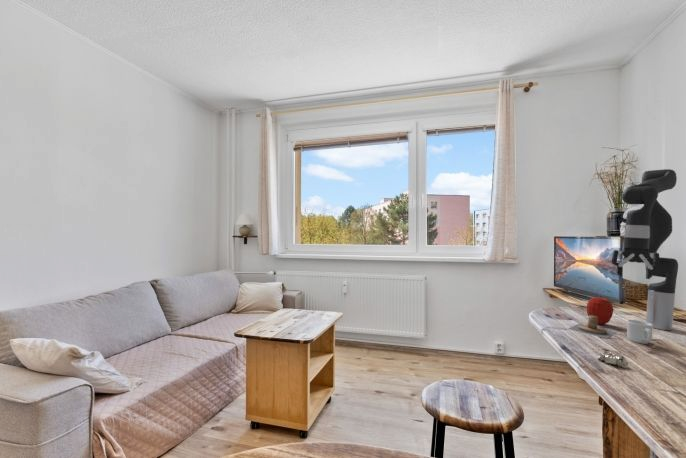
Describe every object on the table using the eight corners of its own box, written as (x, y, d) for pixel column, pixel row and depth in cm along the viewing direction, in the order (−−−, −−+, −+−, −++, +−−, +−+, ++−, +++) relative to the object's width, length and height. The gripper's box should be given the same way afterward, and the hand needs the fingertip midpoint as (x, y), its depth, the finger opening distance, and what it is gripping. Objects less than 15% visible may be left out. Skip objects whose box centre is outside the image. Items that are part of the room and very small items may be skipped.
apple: (612, 329, 152) (615, 298, 152) (585, 324, 158) (587, 294, 158) (611, 324, 161) (613, 295, 160) (585, 319, 167) (587, 291, 166)
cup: (662, 349, 128) (663, 328, 128) (637, 346, 130) (639, 326, 129) (642, 339, 138) (644, 320, 138) (620, 337, 140) (622, 318, 140)
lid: (582, 325, 154) (583, 312, 153) (609, 332, 146) (610, 317, 146) (574, 329, 147) (576, 315, 147) (602, 336, 139) (604, 321, 139)
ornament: (631, 366, 110) (632, 355, 110) (623, 370, 106) (624, 359, 106) (602, 357, 117) (603, 347, 116) (594, 361, 113) (595, 350, 113)
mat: (578, 324, 157) (579, 323, 157) (616, 333, 146) (616, 332, 146) (567, 329, 147) (567, 328, 147) (607, 339, 136) (607, 338, 136)
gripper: (656, 237, 133) (653, 278, 133) (611, 235, 140) (609, 274, 140) (664, 238, 126) (660, 281, 127) (616, 235, 133) (613, 276, 133)
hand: (633, 277), depth 133 cm, fingers open, 8 cm apart
